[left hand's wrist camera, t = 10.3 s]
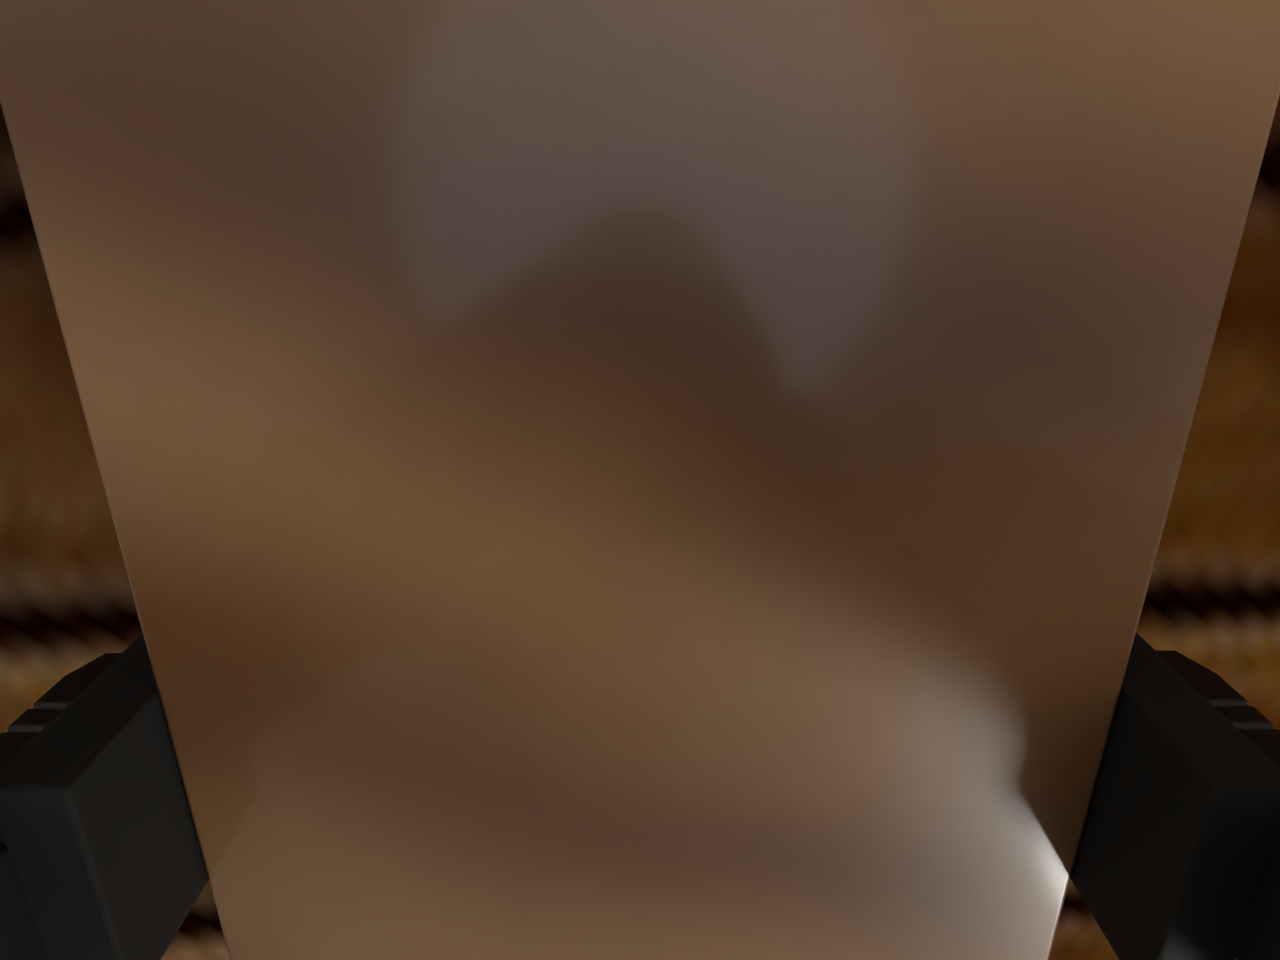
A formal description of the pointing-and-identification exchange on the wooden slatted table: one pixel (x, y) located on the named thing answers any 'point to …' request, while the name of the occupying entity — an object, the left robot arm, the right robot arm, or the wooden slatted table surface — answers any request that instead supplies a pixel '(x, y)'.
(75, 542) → the wooden slatted table surface
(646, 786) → the cabinet
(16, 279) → the wooden slatted table surface
